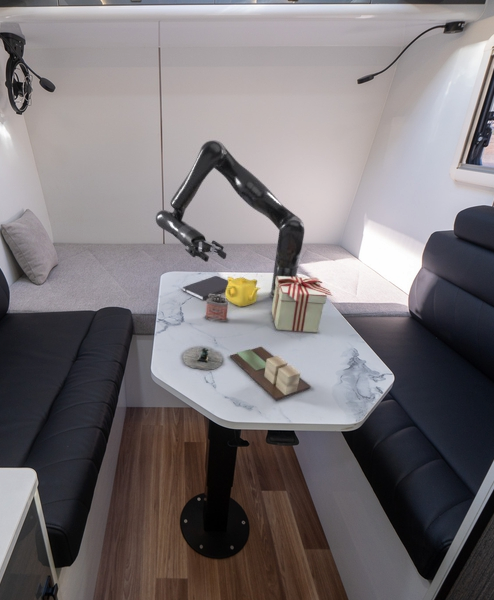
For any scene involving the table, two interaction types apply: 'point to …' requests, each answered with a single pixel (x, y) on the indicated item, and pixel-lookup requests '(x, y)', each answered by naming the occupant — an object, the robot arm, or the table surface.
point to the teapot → (241, 291)
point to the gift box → (298, 303)
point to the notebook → (207, 287)
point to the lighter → (216, 308)
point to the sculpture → (202, 358)
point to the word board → (262, 372)
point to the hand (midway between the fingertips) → (216, 258)
